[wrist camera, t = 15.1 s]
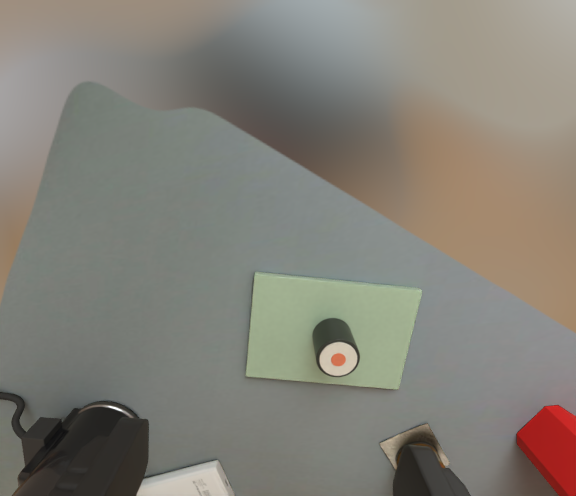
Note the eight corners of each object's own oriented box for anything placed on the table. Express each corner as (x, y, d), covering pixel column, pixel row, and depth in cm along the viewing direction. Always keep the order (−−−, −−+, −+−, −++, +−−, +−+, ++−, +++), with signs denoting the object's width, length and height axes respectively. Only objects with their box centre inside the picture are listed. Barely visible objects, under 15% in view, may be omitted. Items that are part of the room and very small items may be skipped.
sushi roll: (309, 350, 40) (313, 376, 35) (315, 315, 39) (319, 338, 34) (347, 354, 40) (356, 380, 35) (354, 319, 39) (364, 342, 34)
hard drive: (137, 478, 46) (218, 457, 46) (160, 517, 49) (237, 498, 48) (132, 489, 45) (215, 468, 44) (155, 529, 47) (235, 510, 46)
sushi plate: (246, 371, 42) (245, 376, 41) (255, 271, 38) (254, 274, 37) (395, 384, 43) (398, 390, 42) (419, 287, 39) (422, 291, 38)
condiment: (403, 481, 47) (442, 586, 36) (379, 442, 45) (411, 540, 34) (449, 462, 46) (504, 563, 35) (426, 421, 44) (477, 514, 33)
